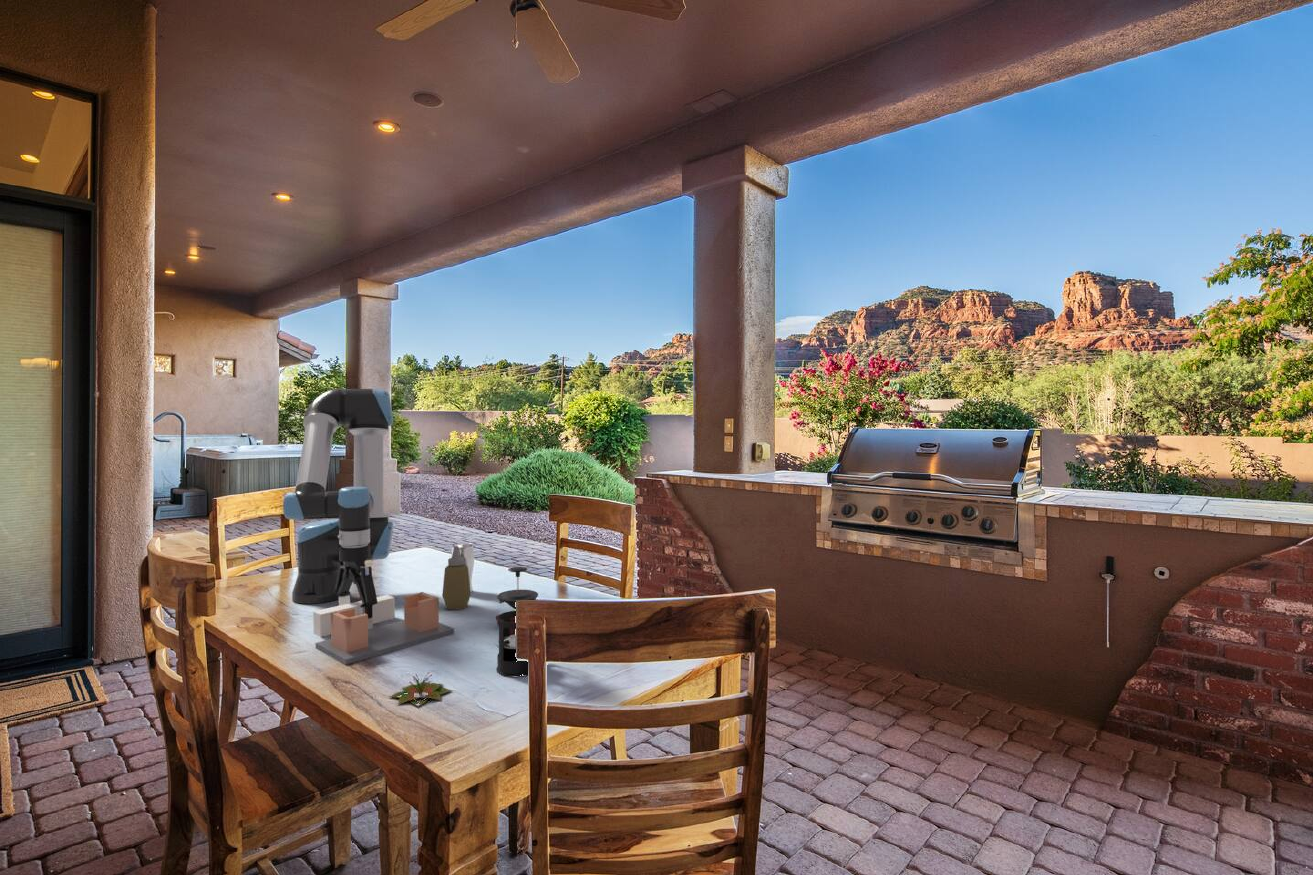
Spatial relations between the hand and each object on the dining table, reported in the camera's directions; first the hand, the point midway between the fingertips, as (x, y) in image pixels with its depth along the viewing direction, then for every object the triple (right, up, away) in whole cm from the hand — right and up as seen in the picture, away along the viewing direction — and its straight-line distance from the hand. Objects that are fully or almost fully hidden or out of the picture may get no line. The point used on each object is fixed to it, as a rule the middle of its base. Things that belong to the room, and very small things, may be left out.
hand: (355, 624), depth 176 cm
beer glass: (+19, +1, +32) cm, 37 cm away
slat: (0, 0, 0) cm, 0 cm away
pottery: (+45, -1, -5) cm, 45 cm away
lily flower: (+33, -3, -42) cm, 53 cm away
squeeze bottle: (+22, 0, +17) cm, 28 cm away
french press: (+50, -2, -28) cm, 57 cm away
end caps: (+13, -1, -11) cm, 17 cm away
